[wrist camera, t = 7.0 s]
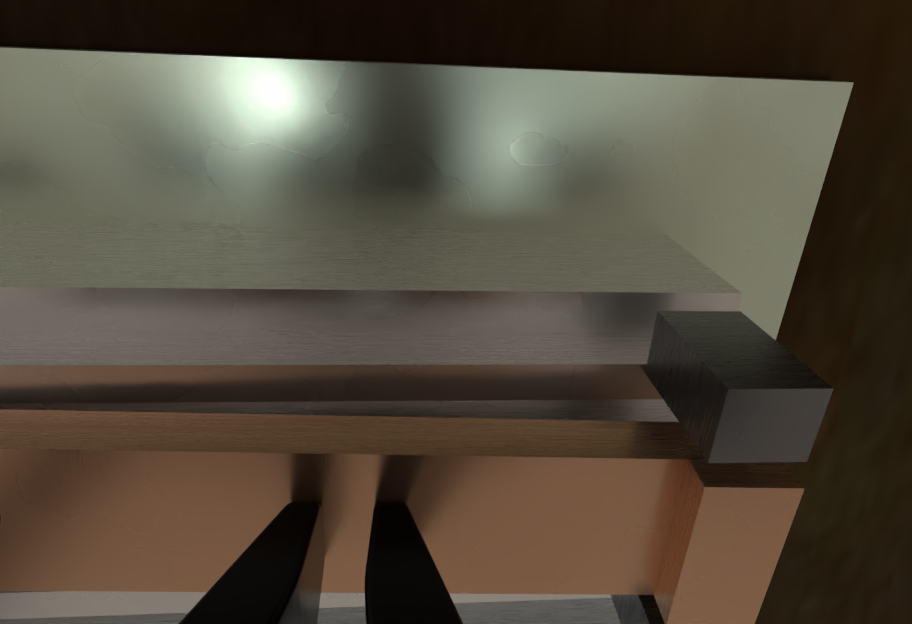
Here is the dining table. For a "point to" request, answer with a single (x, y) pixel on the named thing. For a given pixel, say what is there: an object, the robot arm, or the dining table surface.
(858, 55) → the dining table surface
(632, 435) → the strap
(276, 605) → the robot arm
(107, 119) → the heat sink board
